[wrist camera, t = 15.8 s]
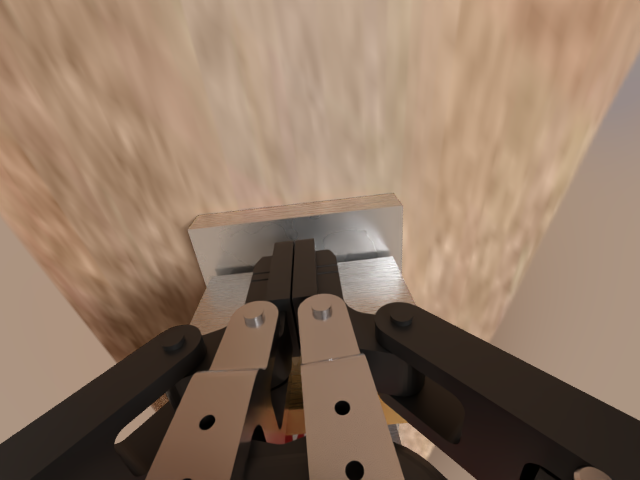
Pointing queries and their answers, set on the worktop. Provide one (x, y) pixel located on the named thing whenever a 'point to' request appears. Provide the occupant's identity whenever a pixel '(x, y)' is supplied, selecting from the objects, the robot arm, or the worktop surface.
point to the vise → (300, 235)
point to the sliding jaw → (358, 293)
